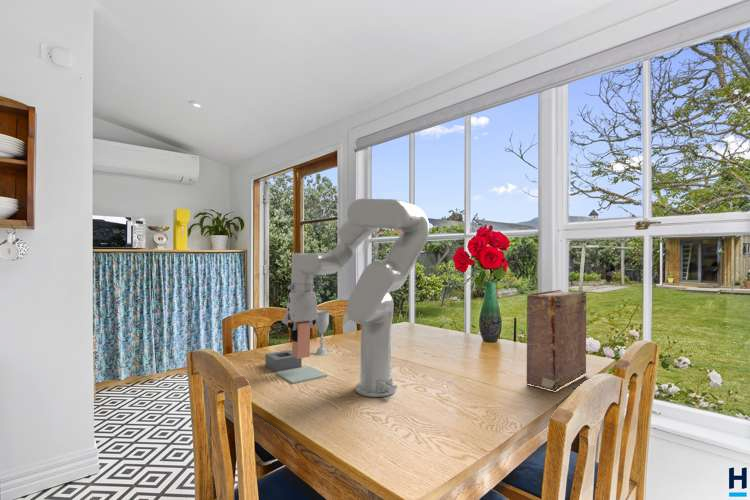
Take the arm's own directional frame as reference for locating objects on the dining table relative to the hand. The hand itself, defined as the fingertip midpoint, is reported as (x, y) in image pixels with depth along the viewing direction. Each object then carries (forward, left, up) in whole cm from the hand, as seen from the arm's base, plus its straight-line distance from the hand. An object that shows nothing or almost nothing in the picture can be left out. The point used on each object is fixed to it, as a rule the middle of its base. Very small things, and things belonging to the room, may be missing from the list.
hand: (301, 339), depth 134 cm
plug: (0, 0, -6) cm, 6 cm away
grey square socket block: (+13, +1, -12) cm, 18 cm away
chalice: (+21, -20, -13) cm, 32 cm away
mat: (0, 0, -12) cm, 12 cm away
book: (-57, -68, -13) cm, 89 cm away
